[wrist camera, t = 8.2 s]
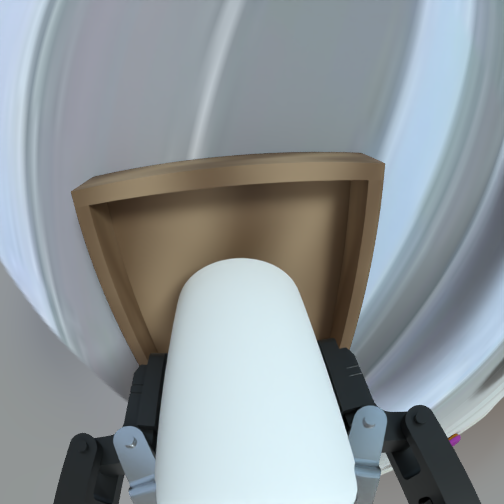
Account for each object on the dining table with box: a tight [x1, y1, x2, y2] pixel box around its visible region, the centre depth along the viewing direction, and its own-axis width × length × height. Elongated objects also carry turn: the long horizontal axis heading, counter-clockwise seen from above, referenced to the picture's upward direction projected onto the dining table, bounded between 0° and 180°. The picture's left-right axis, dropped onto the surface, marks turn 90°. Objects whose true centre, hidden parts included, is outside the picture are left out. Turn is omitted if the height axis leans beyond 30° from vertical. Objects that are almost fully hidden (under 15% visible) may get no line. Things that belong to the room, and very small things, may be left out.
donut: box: [448, 434, 460, 446], centre depth 65 cm, size 10×10×4 cm
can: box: [155, 258, 357, 504], centre depth 9 cm, size 6×6×12 cm
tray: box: [71, 152, 385, 366], centre depth 15 cm, size 14×15×2 cm
